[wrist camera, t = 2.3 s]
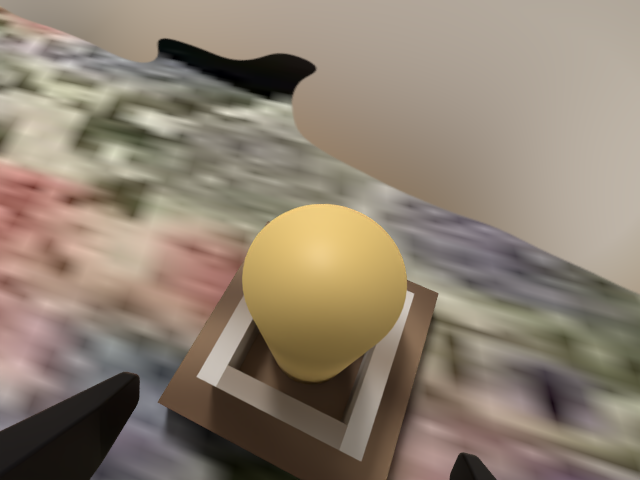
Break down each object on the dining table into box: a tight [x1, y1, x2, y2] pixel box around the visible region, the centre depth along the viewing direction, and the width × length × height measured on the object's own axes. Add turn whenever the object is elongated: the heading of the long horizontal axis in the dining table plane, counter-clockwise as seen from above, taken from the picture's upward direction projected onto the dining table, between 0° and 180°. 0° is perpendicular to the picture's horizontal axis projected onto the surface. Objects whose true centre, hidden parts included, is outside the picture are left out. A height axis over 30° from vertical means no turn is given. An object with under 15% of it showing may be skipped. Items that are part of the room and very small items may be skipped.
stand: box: [158, 221, 438, 480], centre depth 18 cm, size 12×12×4 cm
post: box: [242, 204, 407, 385], centre depth 14 cm, size 4×4×11 cm
